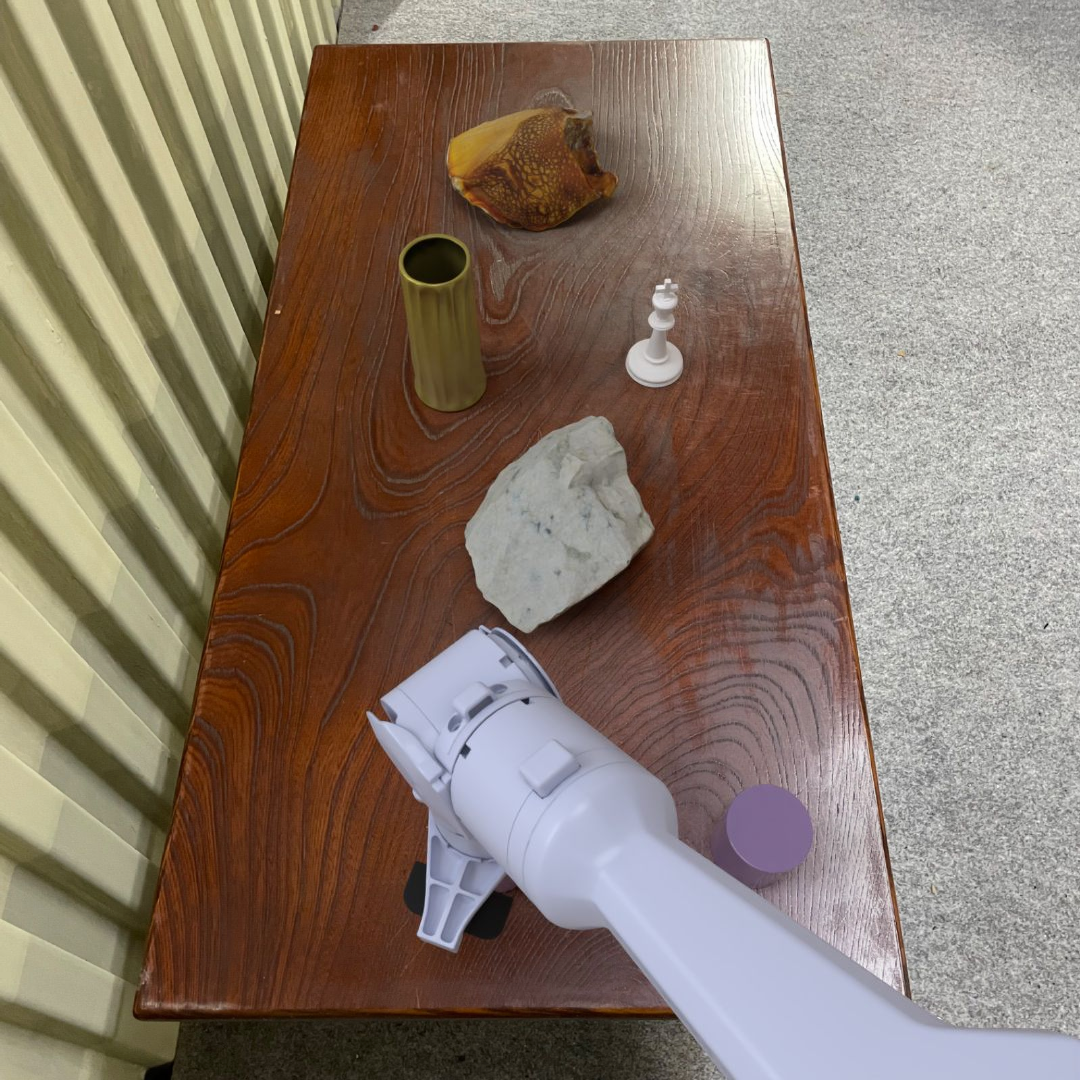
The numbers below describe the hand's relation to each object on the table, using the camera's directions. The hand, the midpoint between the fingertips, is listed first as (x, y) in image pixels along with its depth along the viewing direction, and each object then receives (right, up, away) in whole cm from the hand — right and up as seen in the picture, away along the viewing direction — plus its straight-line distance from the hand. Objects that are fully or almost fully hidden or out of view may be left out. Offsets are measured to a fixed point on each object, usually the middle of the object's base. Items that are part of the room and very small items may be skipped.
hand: (494, 838), depth 57 cm
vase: (-5, +31, +22) cm, 39 cm away
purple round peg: (+16, -2, +4) cm, 17 cm away
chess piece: (+13, +33, +23) cm, 43 cm away
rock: (+4, +18, +15) cm, 24 cm away
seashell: (+2, +54, +35) cm, 64 cm away
